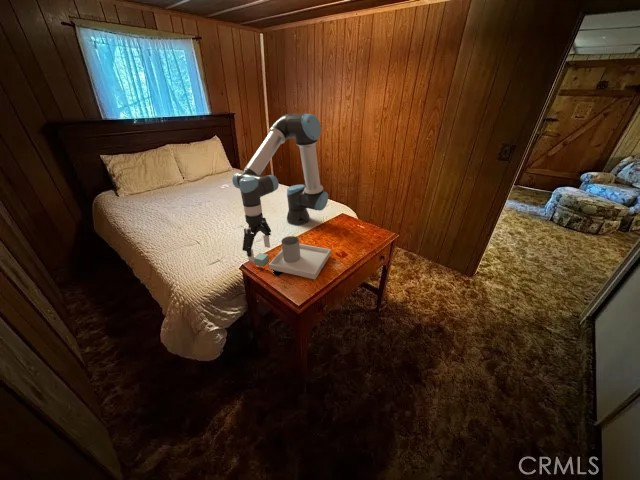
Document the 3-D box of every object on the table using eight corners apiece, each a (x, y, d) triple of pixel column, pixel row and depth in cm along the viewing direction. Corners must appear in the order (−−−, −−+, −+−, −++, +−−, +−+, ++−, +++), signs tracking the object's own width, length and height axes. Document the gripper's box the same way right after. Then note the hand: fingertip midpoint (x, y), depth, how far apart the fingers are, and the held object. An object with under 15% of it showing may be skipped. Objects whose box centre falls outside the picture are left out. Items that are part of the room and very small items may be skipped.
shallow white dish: (290, 248, 138) (289, 241, 136) (331, 256, 130) (331, 249, 128) (269, 271, 120) (268, 264, 118) (315, 282, 113) (314, 274, 111)
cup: (297, 263, 121) (296, 245, 116) (281, 261, 123) (279, 244, 118) (302, 253, 129) (300, 236, 124) (286, 252, 130) (284, 235, 125)
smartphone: (257, 266, 125) (278, 277, 117) (257, 264, 125) (278, 276, 116) (269, 259, 130) (289, 270, 122) (269, 258, 130) (289, 268, 121)
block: (260, 261, 128) (259, 252, 126) (269, 262, 127) (268, 254, 124) (255, 266, 124) (253, 258, 122) (264, 268, 123) (262, 260, 120)
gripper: (261, 202, 123) (267, 240, 133) (228, 223, 103) (237, 266, 113) (275, 204, 120) (279, 242, 131) (243, 226, 100) (251, 269, 111)
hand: (260, 253), depth 122 cm, fingers open, 13 cm apart
